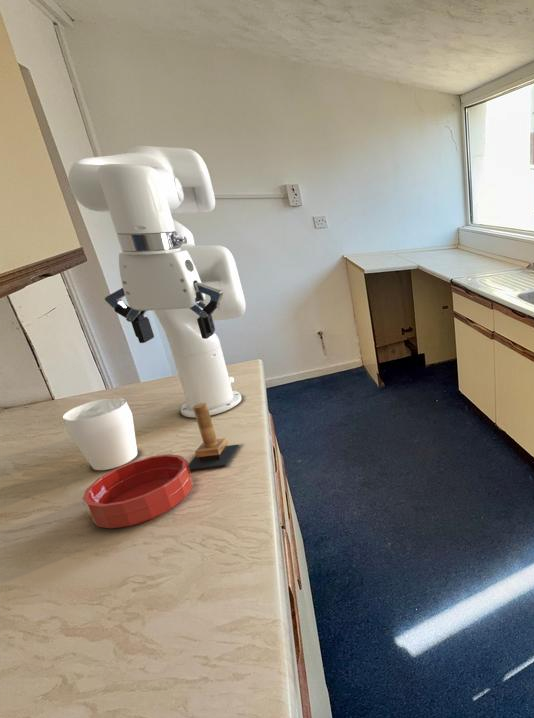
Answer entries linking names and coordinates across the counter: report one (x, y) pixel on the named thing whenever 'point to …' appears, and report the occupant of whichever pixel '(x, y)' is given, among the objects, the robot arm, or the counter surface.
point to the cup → (103, 432)
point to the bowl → (138, 491)
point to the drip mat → (217, 463)
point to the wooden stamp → (208, 436)
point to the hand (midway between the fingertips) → (178, 338)
